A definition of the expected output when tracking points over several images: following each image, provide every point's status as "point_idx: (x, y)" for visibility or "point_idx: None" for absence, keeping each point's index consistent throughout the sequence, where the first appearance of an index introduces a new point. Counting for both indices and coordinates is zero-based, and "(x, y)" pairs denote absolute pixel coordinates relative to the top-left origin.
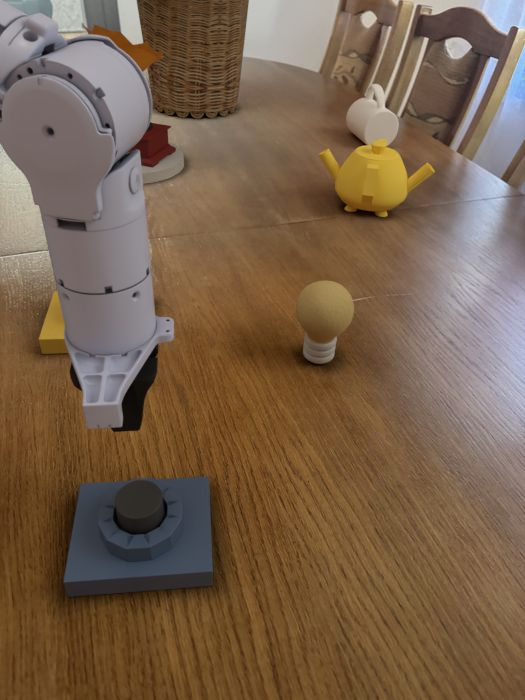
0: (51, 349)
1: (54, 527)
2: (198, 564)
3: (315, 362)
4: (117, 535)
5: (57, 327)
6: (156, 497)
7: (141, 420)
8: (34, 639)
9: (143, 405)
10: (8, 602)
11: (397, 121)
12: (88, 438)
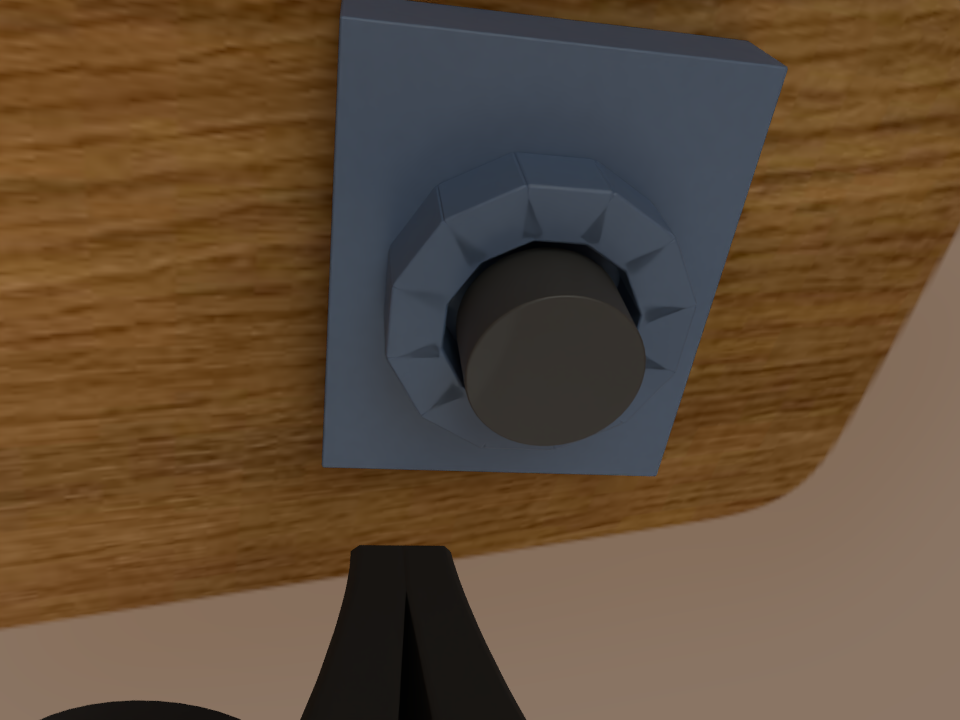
0: None
1: (416, 474)
2: (745, 116)
3: None
4: None
5: None
6: (569, 317)
7: (461, 596)
8: (711, 476)
9: (520, 716)
10: (604, 532)
11: None
12: (50, 421)
